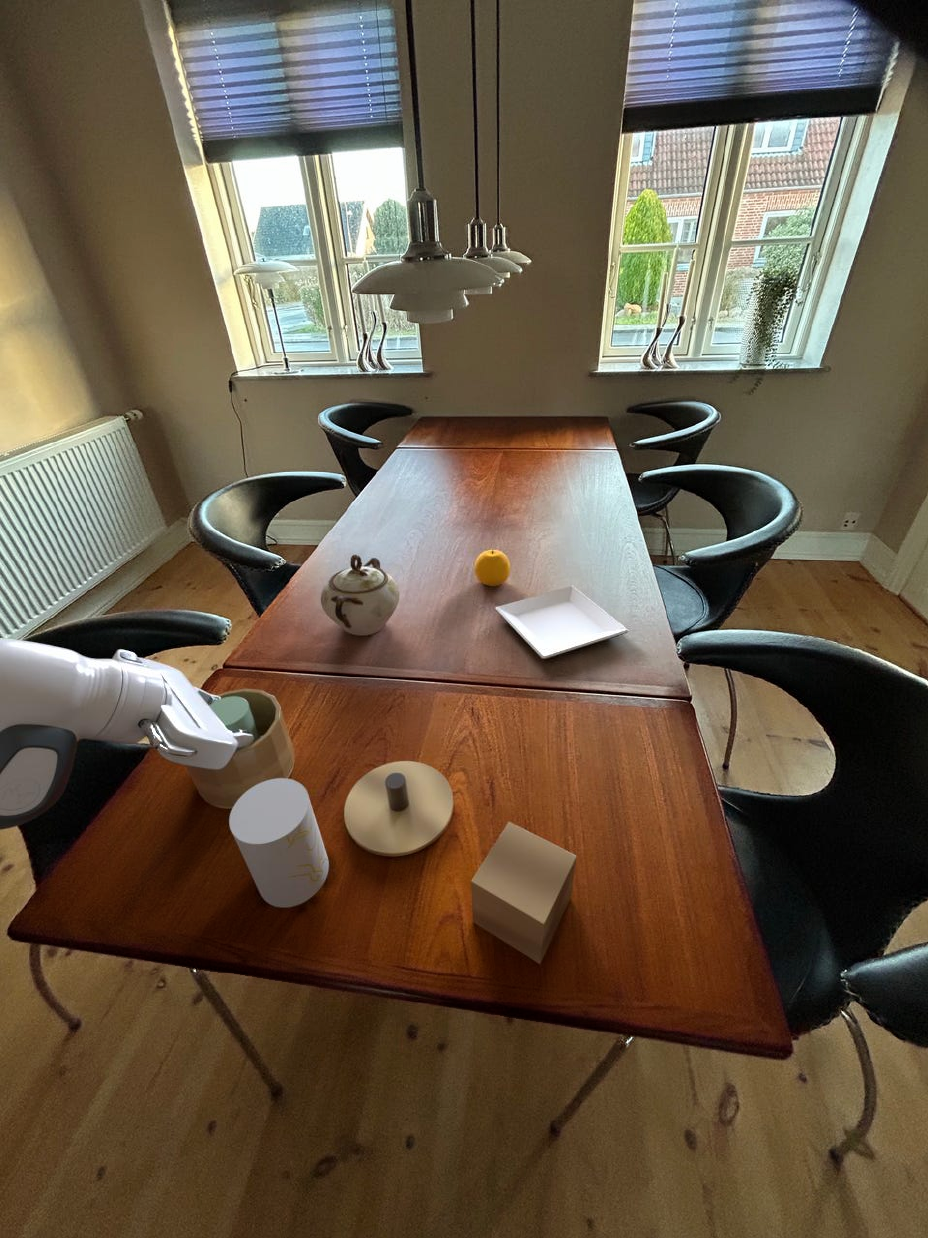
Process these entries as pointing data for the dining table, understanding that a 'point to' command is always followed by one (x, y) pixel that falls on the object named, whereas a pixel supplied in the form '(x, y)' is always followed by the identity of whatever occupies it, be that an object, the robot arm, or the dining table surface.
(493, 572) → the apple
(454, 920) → the dining table surface
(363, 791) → the basket lid
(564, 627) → the plate
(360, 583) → the sugar bowl
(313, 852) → the white cylinder
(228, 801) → the basket
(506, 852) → the stand
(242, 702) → the canister
